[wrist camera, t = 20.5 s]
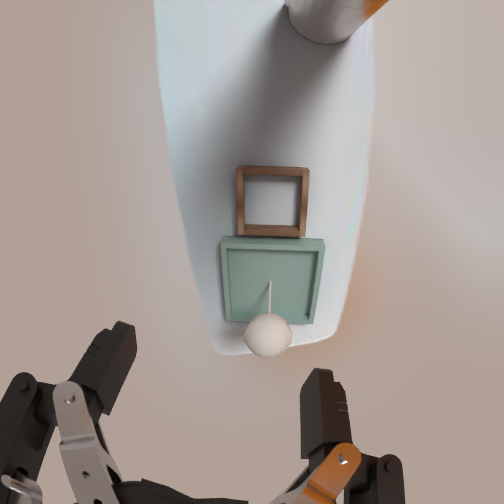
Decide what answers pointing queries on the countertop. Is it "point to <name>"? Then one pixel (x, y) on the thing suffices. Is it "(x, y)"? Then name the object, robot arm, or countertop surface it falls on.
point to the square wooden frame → (272, 229)
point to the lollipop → (268, 333)
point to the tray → (271, 277)
